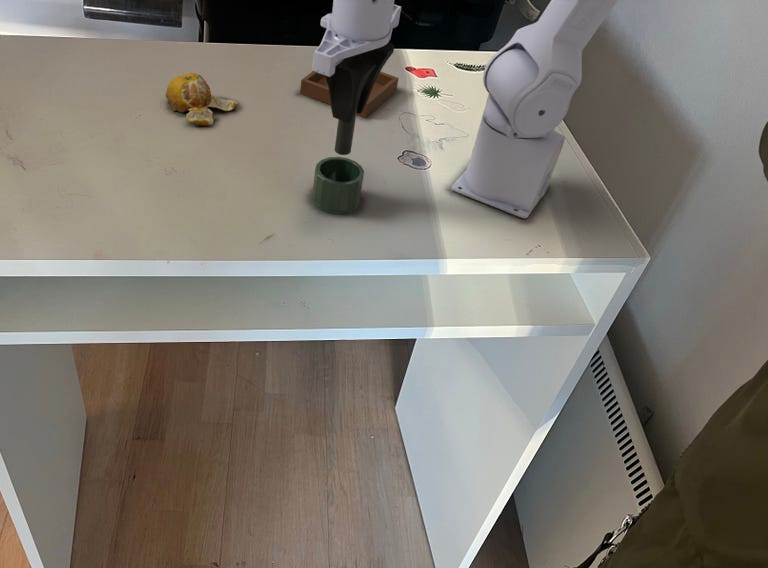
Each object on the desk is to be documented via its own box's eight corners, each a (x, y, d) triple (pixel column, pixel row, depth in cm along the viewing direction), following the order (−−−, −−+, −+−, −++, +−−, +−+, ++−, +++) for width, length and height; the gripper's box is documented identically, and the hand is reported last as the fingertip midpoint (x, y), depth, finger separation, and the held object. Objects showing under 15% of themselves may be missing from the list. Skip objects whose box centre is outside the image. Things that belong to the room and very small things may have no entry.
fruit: (201, 131, 94) (200, 104, 91) (150, 108, 97) (149, 81, 94) (240, 106, 99) (241, 79, 96) (191, 85, 102) (191, 59, 99)
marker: (354, 149, 83) (364, 81, 77) (346, 157, 82) (355, 88, 76) (339, 144, 84) (348, 75, 78) (331, 151, 83) (339, 82, 77)
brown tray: (396, 91, 105) (398, 77, 103) (365, 118, 99) (367, 104, 98) (333, 68, 108) (334, 55, 106) (299, 93, 102) (301, 79, 101)
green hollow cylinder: (367, 197, 87) (372, 168, 84) (344, 220, 84) (349, 190, 81) (327, 180, 89) (330, 151, 86) (303, 202, 86) (306, 172, 83)
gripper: (365, -53, 75) (347, 76, 85) (288, -8, 67) (279, 129, 77) (428, -34, 73) (403, 96, 83) (358, 15, 64) (339, 153, 74)
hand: (347, 114), depth 80 cm, fingers closed on marker, 2 cm apart
